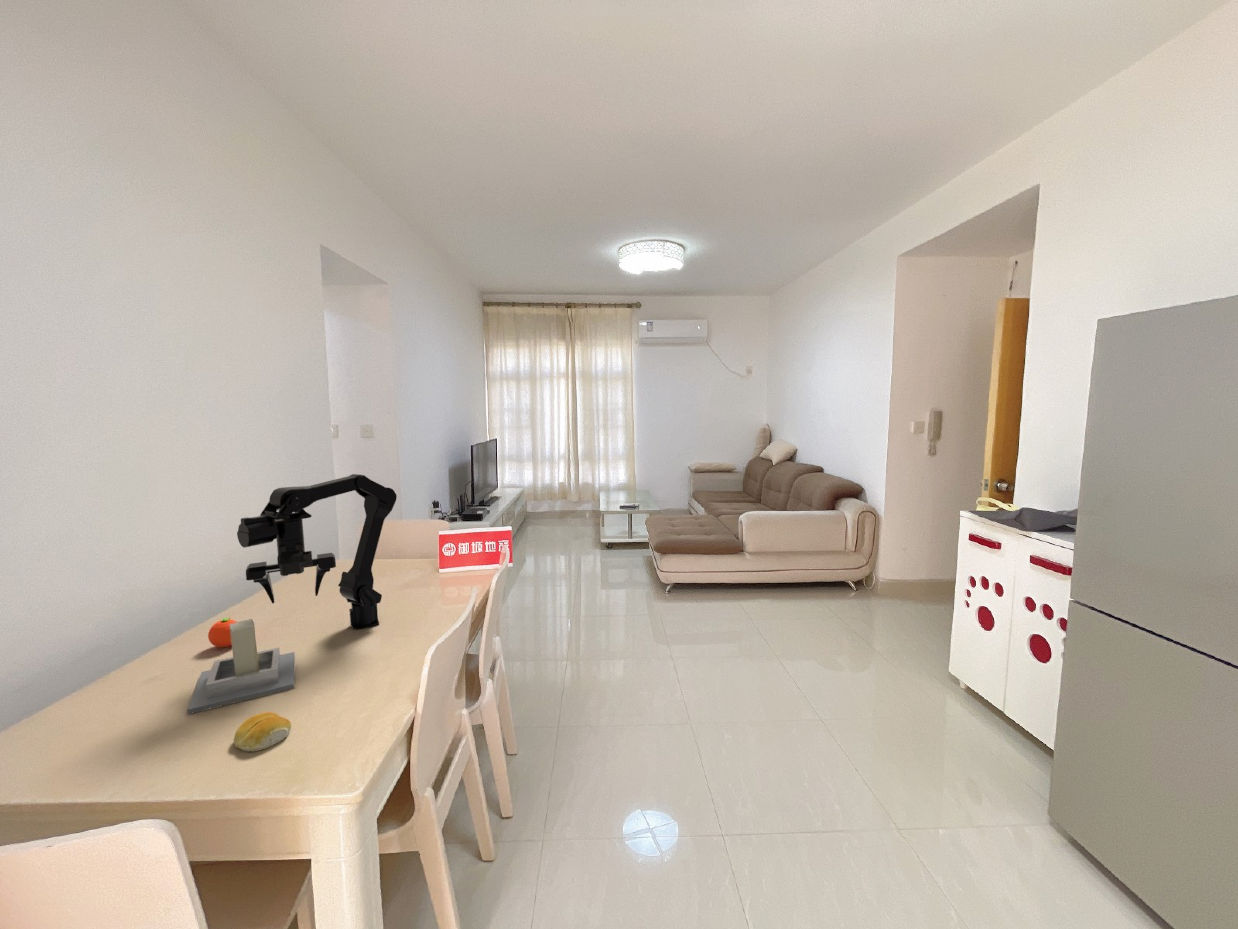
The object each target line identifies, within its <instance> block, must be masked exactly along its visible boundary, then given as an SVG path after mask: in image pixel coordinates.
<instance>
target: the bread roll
mask: <svg viewBox="0 0 1238 929" xmlns="http://www.w3.org/2000/svg"><path fill="white" fill-rule="evenodd" d="M291 728H292V724H291V721H290V720H289V718H286V717H282V716H281V715H280V714H278V713H276V712H270V711H269V712H268V711H266V712H261V713H258V714H255V715H253V716H251V717H248V718H247V719H246V720H245V721H243V722H242V723H241V724H240V725H239V726H238V728H237V729H236V732H235V734H234V736H233V737H234V738H233V743H234V747H236V748H237V749H240V750H242V751H243V752H249V751H252V752H257V751H258V750H259V751H262V749H263V750H265V749H267V748H268V749H269V748H271V747H272V746H275V745H276V743H277V744H279V743H281V740H282V741H283V740H285V739H286V738H285V737H287V736H288V734H289V732H290V731H291ZM284 738H285V739H284ZM274 744H275V745H274Z"/></svg>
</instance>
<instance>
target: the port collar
mask: <svg viewBox="0 0 1238 929" xmlns="http://www.w3.org/2000/svg"><path fill="white" fill-rule="evenodd" d="M280 655H281V650H280V647H276V648H275V647H274V648H270V649H266V650H265V649H264V650H261V651H257V656H258V664H259V666H262V665H266V664H271V663H272V667H271V668H269V669H265V670H261V671H256V672H252V673H247V674H243V675H238V676H234V677H229V678H225V679H221V680H220V677H221V674H226V673H230V672H235V668H234V660H233V656H231V657H228V658H222V659H218V660H214V661H213V663H212V667H211V668H210V670H211V672H210V675H209V678H208V680H207V683H206V691H207V699H209V698H213V697H218V696H222V695H226V694H230V693H234V692H239V691H243V690H247V689H251V688H255V687H260V686H264V685H268V684H272V683H276V682H279V673H280Z"/></svg>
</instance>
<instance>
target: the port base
mask: <svg viewBox="0 0 1238 929" xmlns="http://www.w3.org/2000/svg"><path fill="white" fill-rule="evenodd" d="M295 659H296V655H295V651H293V652H292V651H291V652H288V653H284V654H280V673H279V682H276V683H272V684H268V685H264V686H260V687H255V688H251V689H247V690H243V691H239V692H234V693H230V694H226V695H222V696H218V697H213V698H209V699H207V691H206V683H207V680H208V678H209V675H210V672H211V669H208V670H205V671H204V670H203V671H201V673H200V675H199V678H198V680H197V683H196V686H195V689H194V691H193V694H192V697H191V698H190V699H191V700H190V702H189V705H188V707H187V715H192V714H193V713H192V712H196V713H199V711H200V712H203V711H202V710H204V711H207V710H206V709H208V710H210V709H209V708H212V709H215V708H214V707H216V708H218V707H217V706H220V705H224V706H227V705H226V704H228V705H231V704H230V703H232V704H234V703H233V702H236V703H240V702H244V701H248V700H251V699H257V698H260V697H264V696H268V695H273V694H277V693H279V692H284V691H289V690H293V689H295V664H296V663H295V662H296V660H295ZM271 667H272V663H271V664H266V665H262V666H259V671H261V670H265V669H269V668H271ZM234 676H235V672H230V673H226V674H221V677H220V680H221V679H225V678H229V677H234ZM220 707H221V706H220ZM191 713H192V714H191Z"/></svg>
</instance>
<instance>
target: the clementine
mask: <svg viewBox="0 0 1238 929" xmlns="http://www.w3.org/2000/svg"><path fill="white" fill-rule="evenodd" d="M236 622H238V621H237V620H235V619H230V617H227V618H223V619H221V620H218V621H217V622H215V623H214V624H213V625H212V626H211V627H210V629H209V630H208V634H207V638H208V642H210V644H212V645H213V646H214V647H217V648H228V647H230V646H232V643H231V634H230V625H229V624H231V623H236Z"/></svg>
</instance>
